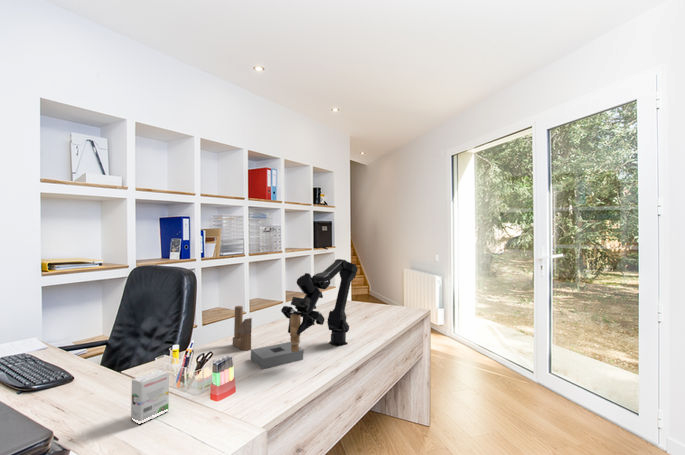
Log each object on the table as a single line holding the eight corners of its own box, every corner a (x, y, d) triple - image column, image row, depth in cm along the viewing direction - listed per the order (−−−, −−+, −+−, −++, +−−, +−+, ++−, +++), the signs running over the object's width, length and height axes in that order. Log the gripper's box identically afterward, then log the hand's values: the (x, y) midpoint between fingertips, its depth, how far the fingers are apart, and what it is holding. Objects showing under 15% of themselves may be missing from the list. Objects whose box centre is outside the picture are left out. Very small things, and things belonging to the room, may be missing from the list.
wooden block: (244, 351, 152) (244, 310, 152) (232, 345, 160) (232, 306, 160) (251, 349, 155) (252, 309, 155) (239, 343, 162) (240, 305, 162)
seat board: (289, 350, 154) (289, 341, 154) (303, 359, 144) (303, 349, 144) (250, 359, 143) (250, 349, 143) (262, 369, 134) (262, 358, 134)
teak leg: (297, 348, 139) (297, 313, 139) (301, 351, 136) (302, 315, 136) (288, 349, 137) (288, 314, 137) (292, 353, 134) (293, 317, 134)
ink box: (159, 407, 104) (160, 368, 104) (169, 412, 102) (170, 372, 102) (130, 420, 97) (130, 378, 97) (140, 426, 94) (140, 383, 95)
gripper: (284, 286, 145) (265, 318, 135) (321, 291, 135) (303, 326, 126) (295, 302, 152) (278, 333, 142) (331, 307, 142) (315, 342, 133)
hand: (293, 333), depth 136 cm, fingers closed on teak leg, 4 cm apart
